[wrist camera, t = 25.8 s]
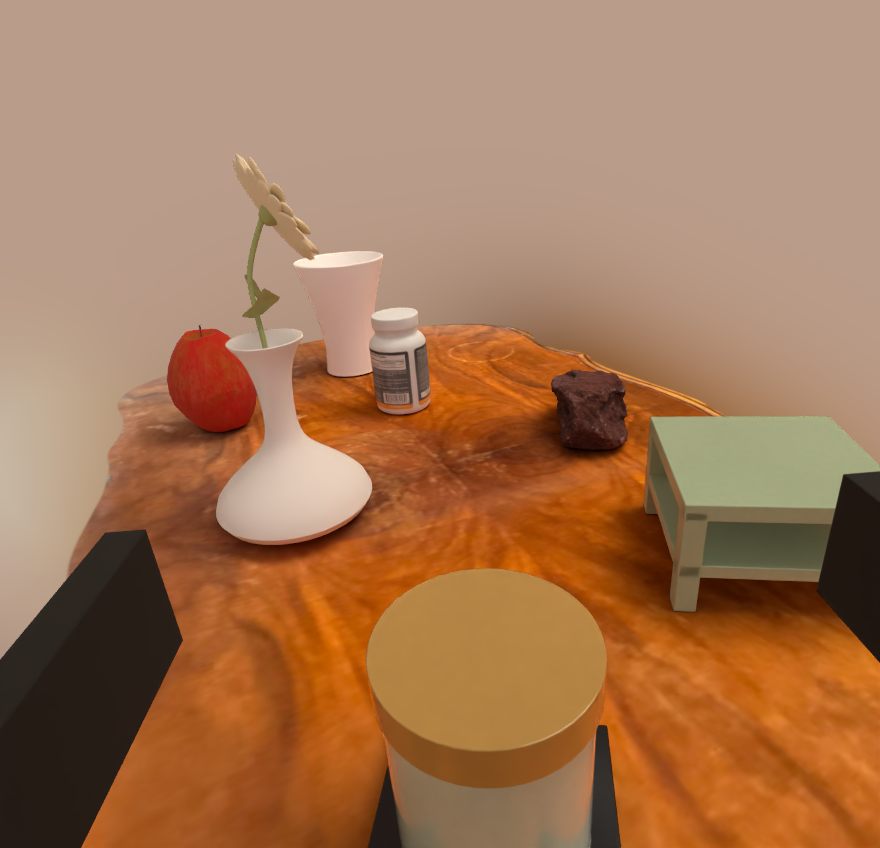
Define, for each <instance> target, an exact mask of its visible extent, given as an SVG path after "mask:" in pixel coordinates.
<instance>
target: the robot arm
mask: <svg viewBox="0 0 880 848" xmlns="http://www.w3.org/2000/svg"><path fill="white" fill-rule="evenodd" d="M816 591H817V592H818V593H819V595H820V596H821V597H822V598H823V599H824V600H825V601H826V602H827V604H828V605H829V606H830V607H831V608H832V609H833V610H834V612H835V613H836V614H837V615H838V616H839V617H840V618H841V619H842V621H843V622H844V623H845V624H846V625H847V626H848V627H849V628H850V630H851V631H852V632H853V633H854V634H855V635H856V636H857V637H858V639H859V640H860V641H861V642H862V643H863V644H864V645H865V647H866V648H867V649H868V650H869V651H870V652H871V653H872V654H873V656H874V657H875V658H876V659H877V660H878V661H879V662H880V471H876V472H864V473H851V474H843V477H842V482H841V486H840V490H839V495H838V499H837V503H836V508H835V512H834V516H833V521H832V525H831V529H830V534H829V538H828V542H827V547H826V551H825V555H824V560H823V564H822V568H821V573H820V577H819V581H818V586H817V590H816ZM182 641H183V639H182V636H181V633H180V630H179V627H178V624H177V621H176V618H175V615H174V612H173V609H172V606H171V604H170V601H169V598H168V595H167V592H166V589H165V586H164V583H163V580H162V577H161V574H160V571H159V568H158V565H157V562H156V559H155V556H154V553H153V550H152V547H151V544H150V541H149V538H148V535H147V532H146V530H134V531H121V532H109V533H105V534H104V535H103V536H102V537H101V539H100V540H99V541H98V542H97V543H96V545H95V546H94V547H93V548H92V550H91V551H90V552H89V553H88V554H87V556H86V557H85V558H84V559H83V560H82V562H81V563H80V564H79V565H78V566H77V568H76V569H75V570H74V571H73V572H72V574H71V575H70V576H69V577H68V578H67V580H66V581H65V582H64V583H63V585H62V586H61V587H60V588H59V589H58V591H57V592H56V593H55V594H54V595H53V597H52V598H51V599H50V600H49V602H48V603H47V604H46V605H45V606H44V607H43V609H42V610H41V611H40V612H39V614H38V615H37V616H36V617H35V618H34V620H33V621H32V622H31V623H30V624H29V626H28V627H27V628H26V629H25V630H24V632H23V633H22V634H21V635H20V637H19V638H18V639H17V640H16V641H15V643H14V644H13V645H12V646H11V647H10V649H9V650H8V651H7V652H6V653H5V655H4V656H3V657H2V658H1V659H0V848H81V847H82V845H83V843H84V841H85V839H86V837H87V835H88V833H89V831H90V828H91V826H92V824H93V822H94V820H95V818H96V816H97V814H98V812H99V810H100V808H101V806H102V804H103V802H104V800H105V798H106V796H107V794H108V792H109V790H110V788H111V786H112V784H113V782H114V780H115V777H116V775H117V773H118V771H119V769H120V767H121V765H122V763H123V761H124V759H125V757H126V755H127V753H128V751H129V749H130V747H131V745H132V743H133V741H134V739H135V737H136V735H137V733H138V731H139V728H140V726H141V724H142V722H143V720H144V718H145V716H146V714H147V712H148V710H149V708H150V706H151V704H152V702H153V700H154V698H155V696H156V694H157V692H158V690H159V688H160V686H161V684H162V682H163V679H164V677H165V675H166V673H167V671H168V669H169V667H170V665H171V663H172V661H173V659H174V657H175V655H176V653H177V651H178V649H179V647H180V645H181V643H182Z"/></svg>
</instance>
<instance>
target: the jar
mask: <svg viewBox="0 0 880 848" xmlns="http://www.w3.org/2000/svg"><path fill="white" fill-rule="evenodd" d="M366 667H367V676H368V682H369V688H370V694H371V700H372V706H373V710H374V714H375V718H376V720H377V723H378V725H379V727H380V730H381V732H382V733H383V735H384V740H385V746H386V753H387V759H388V765H389V772H390V778H391V784H392V791H393V797H394V803H395V809H396V816H397V822H398V828H399V835H400V841H401V846H402V848H590V841H591V826H592V807H593V788H594V769H595V750H596V731H597V727H598V725H599V723H600V720H601V717H602V714H603V710H604V702H605V691H606V674H607V651H606V647H605V642H604V638H603V636H602V633H601V631H600V628H599V627H598V625H597V623H596V622H595V620H594V618H593V617H592V615H591V614H590V613H589V612H588V610H587V609H586V608H585V607H584V606H583V605H582V604H581V603H580V602H579V601H578V600H577V599H576V598H574V597H573V596H572V595H570V594H569V593H568V592H567V591H565V590H563V589H562V588H560V587H558V586H557V585H555V584H553V583H550V582H548V581H546V580H544V579H541V578H539V577H536V576H533V575H530V574H526V573H522V572H517V571H511V570H505V569H469V570H462V571H456V572H452V573H448V574H444V575H440V576H438V577H435V578H432V579H429V580H427V581H425V582H423V583H421V584H419V585H417V586H415V587H413V588H412V589H410V590H408V591H407V592H406V593H404V594H403V595H402V596H400V597H399V598H398V599H396V600H395V601H394V602H393V603H392V604H391V605H390V606H389V607H388V608H387V609H386V611H385V612H384V613H383V614H382V616H381V617H380V619H379V620H378V622H377V623H376V625H375V627H374V629H373V632H372V634H371V636H370V639H369V643H368V647H367V654H366Z"/></svg>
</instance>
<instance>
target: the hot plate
mask: <svg viewBox="0 0 880 848" xmlns="http://www.w3.org/2000/svg"><path fill="white" fill-rule="evenodd" d="M368 848H402V846H401V841H400V835H399V828H398V822H397V816H396V809H395V803H394V797H393V791H392V784H391V778H390V772H389V765H388V767H387V771H386V775H385V779H384V783H383V787H382V791H381V795H380V799H379V803H378V808H377V812H376V816H375V820H374V824H373V828H372V832H371V836H370V840H369V844H368ZM590 848H621V844H620V835H619V826H618V817H617V809H616V800H615V791H614V782H613V773H612V765H611V756H610V747H609V738H608V729H607V726H605V725H598V727H597V731H596V750H595V769H594V788H593V807H592V826H591V841H590Z"/></svg>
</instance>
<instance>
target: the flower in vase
mask: <svg viewBox="0 0 880 848" xmlns="http://www.w3.org/2000/svg"><path fill="white" fill-rule="evenodd" d="M236 159H237V161H236V160H235V159H233V163H234V169H235V171H236V173H237V177H238V179H239V181H240V183H241V184H242V186H243V187H244V189H245V190H246V192H247V194H248V195H249V197H250V198H251V199H252V201H253V202H254V204H255V205H256V207H257V208H258V210H259V221H258V223H257V227H256V230H255V233H254V237H253V241H252V245H251V249H250V254H249V260H248V266H247V275H245V279H246V281H247V283H248V289H249V294H250V299H251V304H252V307H251V308H250V309H249V310H247V311H246V312H245V313H244V314H243V317H248V318H255V320H256V324H257V328H258V331H252V332H248V333H245V334H241V335H238V336H236V337H234V338H232V339H230V340H229V341H228V342H226V344H225V346H226V347H227V349H228V350H229V351H231V352H232V353H233V354H234V355H235V356H236V357H237V358H238V359H239V360H240V361H241V362H242V363H243V365H244V367H245V368H246V370H247V371H248V373H249V375H250V377H251V379H252V381H253V383H254V386H255V389H256V392H257V394H258V397H259V401H260V405H261V408H262V412H263V418H264V424H265V437H264V441H263V444H262V445H261V447H260V449H259V450H258V451H257V452H256V453H255V454H254V455H253V456H252V457H251V458H250V459H249V460H248V461H247V462H246V463H245V464H244V465H243V466H242V467H241V468H240V469H239V470H238V471H237V472H236V473H235V474H234V475H233V476H232V478H231V479H230V480H229V481H228V483H227V484H226V486H225V487H224V488H223V490H222V492H221V493H220V495H219V498H218V503H217V509H216V517H217V520H218V522H219V524H220V525H221V526H222V528H223V529H225V530H226V531H228V532H229V533H230V534H232V535H233V536H235V537H236V538H238V539H241V540H243V541H246V542H250V543H255V544H263V545H282V544H291V543H298V542H302V541H307V540H310V539H314V538H317V537H320V536H323V535H325V534H328V533H330V532H332V531H334V530H337V529H338V528H340V527H342V526H344V525H345V524H347V523H348V522H349V521H351V520H352V519H353V518H354V517H356V516H357V515H358V514H359V513H360V511H361V510H362V509H363V507H364V506H365V504H366V502H367V501H368V499H369V497H370V494H371V491H372V482H371V480H370V477H369V476H368V474H367V472H366V471H365V469H364V468H363V466H362V465H360V464H359V463H358V462H357V461H355V460H353V459H352V458H350V457H349V456H347V455H346V454H344V453H342V452H339V451H337V450H335V449H333V448H331V447H328V446H326V445H323V444H321V443H318V442H316V441H314V440H312V439H311V438H309V437H308V436H307V435H305V433H304V432H303V431H302V429H301V427H300V425H299V422H298V419H297V415H296V411H295V406H294V399H293V389H292V365H293V360H294V355H295V352H296V349H297V347H298V345H299V343H300V341H301V339H302V337H303V333H302V332H301V331H299V330H296V329H289V328H272V329H263V326H262V322H261V319H260V315H261V314H263V313H264V312H265V311H266V310H267V309H269V308H270V307H271V306H272V305H273V304H274V303H276V302H277V301H278V300H279V297H278V296H277V295H275V294H273V293H271V292H270V291H268V290H266V289H263V290H262V292H261V291H260V289H259V288H258V286H257V284H256V282H255V281H254V280H253V279H252V270H253V263H254V257H255V252H256V248H257V244H258V240H259V237H260V234H261V230H262V227H263V224H265V225H267V226H273V227H274V229H275V230H276V231H277V232H278V233H279V235H280V236H281V237H282V238H284V239H285V241H286V242H287V243H288V244H289V245H290V246H291V247H292V248H294V249H295V250H296V251H297V252H298V253H299V254H301V255H302V256H303V257H306V258H307V259H309V260H312V259H314V256H313V255H312V253H317V254H319V251H318V249H317V247H316V246H315V245H314V244H313V243H312V242H311V241H310V240H309V239H307V238H306V237H305V236H304V235H303V234H302V233H305V234H310V233H311V232H310V230H309V228H308V227H307V225H306V224H305V223H304V222H303V221H301V220H300V219H298V218H296V217H295V216H294V213H293V211H292V209H291V208H290V207H289V206H288V205H287V204H285V195H284V192H283V191H282V189H281V188H280V187H279V186H278V185H277V184H276V183H273V184H271V186H270V189H269V188H268V184H267V181H266V179H265V177H264V176H263V174H262V173H261V172H260V170H259V168H258V166H257V165H256V163H255V162H254V161H253V159H252V158H251V157H248V163H249V166H250V167H249V166H248V164H247V163H246V161H245V160H244V159H243V158H242V157H240V156H239V155H238V154H236ZM250 168H251V169H250ZM301 232H302V233H301ZM311 252H312V253H311ZM255 296H256V297H257V298H258V299H257V301H256V299H255Z"/></svg>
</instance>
